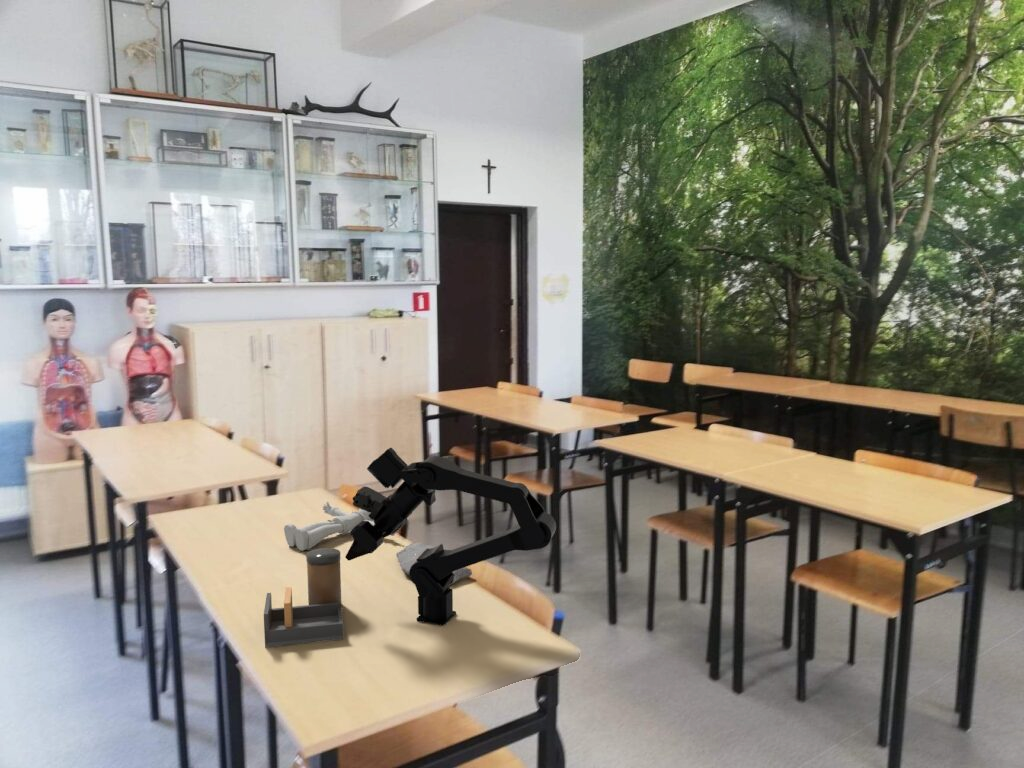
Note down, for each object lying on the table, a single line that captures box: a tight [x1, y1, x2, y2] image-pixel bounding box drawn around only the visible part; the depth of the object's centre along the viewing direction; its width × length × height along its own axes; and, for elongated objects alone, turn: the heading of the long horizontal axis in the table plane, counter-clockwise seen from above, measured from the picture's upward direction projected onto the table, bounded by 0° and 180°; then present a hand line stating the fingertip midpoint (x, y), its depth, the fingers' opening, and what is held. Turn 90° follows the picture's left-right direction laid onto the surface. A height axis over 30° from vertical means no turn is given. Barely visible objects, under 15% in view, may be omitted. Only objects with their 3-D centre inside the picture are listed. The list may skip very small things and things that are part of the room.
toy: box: [283, 501, 397, 552], centre depth 219 cm, size 33×8×30 cm
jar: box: [305, 547, 342, 605], centre depth 171 cm, size 7×7×12 cm
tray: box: [263, 592, 344, 648], centre depth 160 cm, size 15×11×7 cm
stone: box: [395, 541, 473, 585], centre depth 194 cm, size 16×6×25 cm
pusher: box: [283, 586, 293, 628], centre depth 159 cm, size 1×8×7 cm, turn 14°
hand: (356, 551), depth 169 cm, fingers open, 9 cm apart
